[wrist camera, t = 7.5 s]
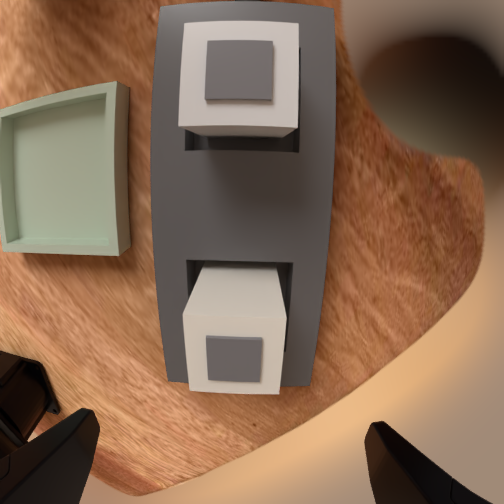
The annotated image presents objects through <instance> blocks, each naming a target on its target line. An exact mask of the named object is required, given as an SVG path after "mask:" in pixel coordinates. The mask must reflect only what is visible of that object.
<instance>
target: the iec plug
mask: <svg viewBox="0 0 504 504" xmlns="http://www.w3.org/2000/svg"><path fill="white" fill-rule="evenodd" d="M286 319H287V317H286V312H285V307H284V302H283V297H282V293H281V288H280V283H279V278H278V273H277V268H276V264H275V262H258V261H219V260H206V261H205V263H204V265H203V268H202V270H201V272H200V275H199V277H198V279H197V282H196V284H195V286H194V288H193V291H192V293H191V296H190V298H189V300H188V303H187V305H186V307H185V310H184V312H183V326H184V339H185V350H186V360H187V370H188V379H189V388H190V391H200V392H215V393H235V394H279V390H280V381H281V371H282V362H283V352H284V341H285V330H286Z"/></svg>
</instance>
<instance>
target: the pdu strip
mask: <svg viewBox="0 0 504 504" xmlns="http://www.w3.org/2000/svg"><path fill="white" fill-rule="evenodd" d="M209 21H271V22H287V23H299V87H298V128H296V129H295V130H293V131H292V132H290V133H289V134H287V135H286V136H284V137H283V138H281V139H253V138H206V137H203V136H201V135H198V134H196V133H194V132H191V131H189V130H186V129H184V128H181V127H179V126H178V121H179V95H180V75H181V60H182V46H183V34H184V23H192V22H209ZM335 126H336V52H335V24H334V8H328V7H321V6H313V5H305V4H294V3H282V2H262V1H260V0H235V1H220V2H201V3H188V4H178V5H169V6H161V7H160V14H159V22H158V30H157V40H156V50H155V62H154V75H153V90H152V111H151V214H152V235H153V252H154V266H155V279H156V290H157V300H158V310H159V319H160V327H161V335H162V343H163V350H164V358H165V364H166V371H167V377H168V381H171V382H182V383H189V379H188V370H187V360H186V350H185V339H184V326H183V312H184V310H185V307H186V305H187V303H188V300H189V298H190V296H191V293H192V291H193V288H194V286H195V284H196V282H197V279H198V277H199V275H200V272H201V270H202V268H203V265H204V263H205V261H206V260H219V261H258V262H275V264H276V268H277V273H278V278H279V283H280V288H281V293H282V297H283V302H284V307H285V312H286V317H287V319H286V330H285V341H284V352H283V362H282V371H281V381H280V386H310V382H311V376H312V370H313V364H314V357H315V351H316V344H317V338H318V331H319V323H320V316H321V308H322V300H323V292H324V284H325V275H326V265H327V255H328V245H329V234H330V222H331V209H332V194H333V177H334V156H335Z"/></svg>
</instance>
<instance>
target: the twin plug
mask: <svg viewBox="0 0 504 504" xmlns="http://www.w3.org/2000/svg"><path fill="white" fill-rule="evenodd" d="M298 87H299V23H287V22H271V21H209V22H192V23H184V34H183V46H182V60H181V75H180V95H179V121H178V126H179V127H181V128H184V129H186V130H189V131H191V132H194V133H196V134H198V135H201V136H203V137H206V138H253V139H281V138H283V137H284V136H286V135H287V134H289V133H290V132H292V131H293V130H295V129H296V128H298Z"/></svg>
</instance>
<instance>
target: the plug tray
mask: <svg viewBox="0 0 504 504" xmlns="http://www.w3.org/2000/svg"><path fill="white" fill-rule="evenodd" d="M129 91H130V87H128V86H126V85H124V84H122V83H120V82H118V81H114V82H108V83H102V84H96V85H91V86H86V87H81V88H76V89H72V90H67V91H63V92H59V93H55V94H51V95H47V96H43V97H39V98H36V99H32V100H29V101H25V102H22V103H19V104H16V105H12V106H9V107H6V108H3V109H0V235H1V242H2V248H3V252H23V253H49V254H76V255H104V256H120V255H121V254H122V253H123V252H125V251H126V250H127V249H128V248H130V247H131V239H130V224H129V205H128V168H127V145H128V109H129Z"/></svg>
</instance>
